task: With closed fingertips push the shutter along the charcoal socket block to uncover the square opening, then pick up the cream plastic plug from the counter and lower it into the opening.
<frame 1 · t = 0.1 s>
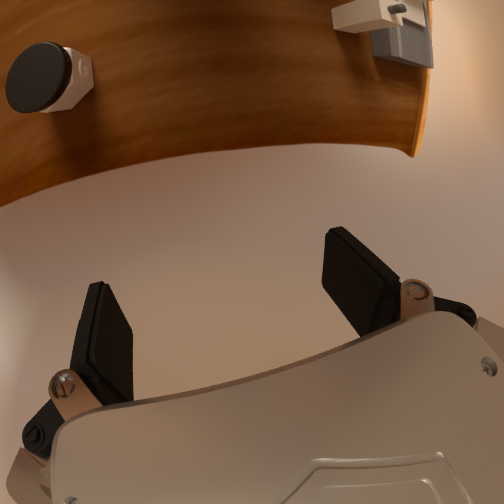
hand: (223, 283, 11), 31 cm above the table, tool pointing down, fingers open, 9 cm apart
jar: (69, 81, 25), on the table
socket block: (389, 9, 29), on the table
shutter: (416, 5, 23), point 7 cm above the table, slide at 0.0 cm
plug: (342, 21, 30), on the table
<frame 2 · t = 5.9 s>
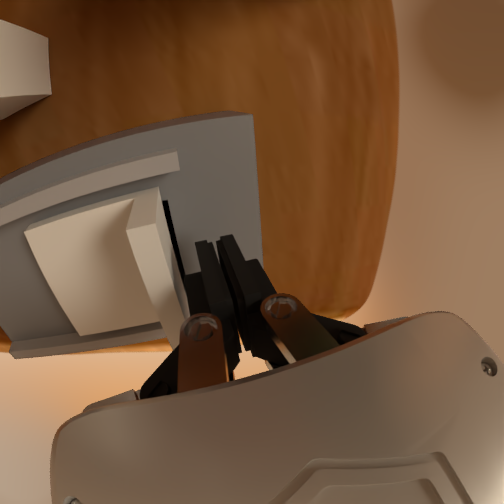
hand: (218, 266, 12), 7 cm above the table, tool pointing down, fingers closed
socket block: (136, 220, 17), on the table
shutter: (104, 292, 11), point 7 cm above the table, slide at 1.1 cm, touching gripper
plug: (23, 78, 9), on the table
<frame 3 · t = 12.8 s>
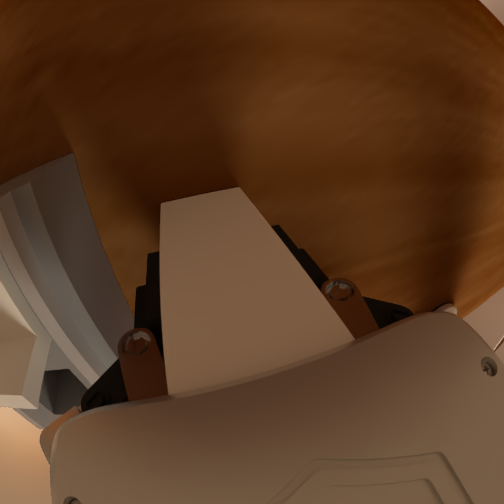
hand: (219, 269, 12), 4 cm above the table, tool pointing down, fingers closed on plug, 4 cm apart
socket block: (69, 339, 16), on the table
plug: (206, 229, 15), on the table, touching gripper
when the fingers open (6 cm above the table, at t = 19.3 s): plug drops 2 cm, resting in socket block.
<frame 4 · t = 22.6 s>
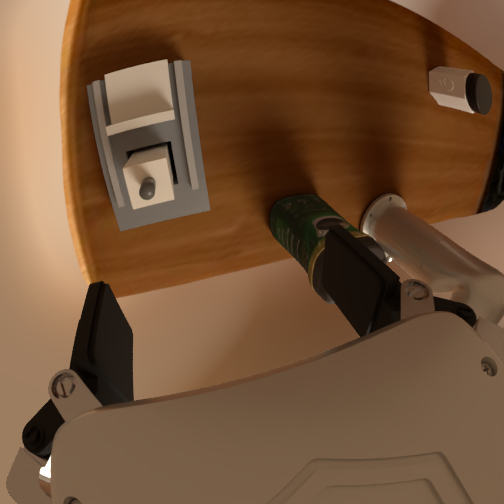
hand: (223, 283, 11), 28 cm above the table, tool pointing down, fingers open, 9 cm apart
jar: (438, 85, 37), on the table
socket block: (154, 159, 33), on the table
coffee jar: (295, 215, 44), on the table
shutter: (137, 94, 22), point 7 cm above the table, slide at 8.9 cm
plug: (154, 158, 33), resting in socket block
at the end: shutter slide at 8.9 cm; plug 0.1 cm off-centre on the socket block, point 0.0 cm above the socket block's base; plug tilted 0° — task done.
